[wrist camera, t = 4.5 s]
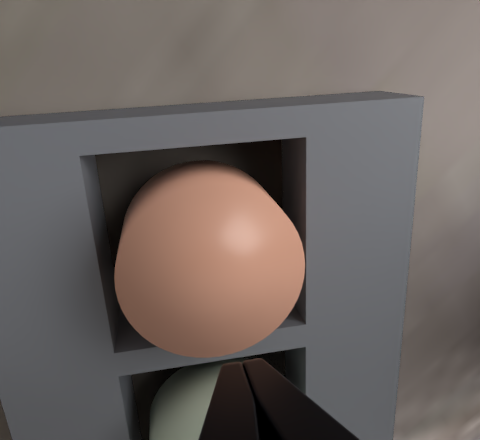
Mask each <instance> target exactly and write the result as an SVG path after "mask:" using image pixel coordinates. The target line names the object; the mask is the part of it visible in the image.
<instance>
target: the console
mask: <svg viewBox="0 0 480 440" xmlns="http://www.w3.org/2000/svg"><path fill="white" fill-rule="evenodd" d="M423 105H424V97H423V96H416V95H408V94H400V93H392V92H384V91H374V92H359V93H344V94H330V95H315V96H300V97H286V98H271V99H256V100H241V101H227V102H212V103H197V104H183V105H168V106H153V107H139V108H124V109H109V110H94V111H80V112H65V113H50V114H36V115H21V116H6V117H0V400H1V403H2V407H3V410H4V413H5V417H6V420H7V423H8V427H9V430H10V433H11V437H12V440H142V438H141V432H140V426H139V419H138V413H137V407H136V401H135V395H134V389H133V383H132V377H131V375H132V374H138V373H144V372H151V371H157V370H163V369H169V368H176V367H182V366H188V365H195V364H201V363H207V362H214V361H220V360H226V359H233V358H239V357H245V356H251V355H258V354H264V353H270V352H277V351H283V350H285V371H286V379H288V380H289V381H290V382H291V383H292V384H294V385H295V386H296V387H297V388H298V389H300V390H301V391H302V392H303V393H304V394H306V395H307V396H308V397H309V398H310V399H312V400H313V401H314V402H315V403H316V404H318V405H319V406H320V407H321V408H322V409H324V410H325V411H326V412H327V413H328V414H330V415H331V416H332V417H333V418H334V419H336V420H337V421H338V422H339V423H340V424H342V425H343V426H344V427H345V428H347V429H348V430H349V431H350V432H351V433H353V434H354V435H355V436H356V437H357V438H359V439H360V440H393V433H394V422H395V411H396V400H397V389H398V378H399V367H400V356H401V345H402V334H403V324H404V313H405V302H406V291H407V280H408V269H409V258H410V247H411V236H412V225H413V214H414V203H415V193H416V182H417V171H418V160H419V149H420V138H421V127H422V116H423ZM278 139H282V195H283V212H284V213H285V214H286V215H287V216H288V218H289V219H290V220H291V222H292V223H293V225H294V227H295V228H296V230H297V232H298V234H299V237H300V240H301V242H302V246H303V251H304V257H305V273H304V280H303V285H302V289H301V291H300V294H299V297H298V299H297V301H296V303H295V305H294V307H293V309H292V310H291V312H290V313H289V315H288V316H287V317H286V319H285V320H284V321H283V322H282V323H281V325H280V326H279V327H278V328H276V329H275V330H274V331H273V332H272V333H271V334H270V335H268V336H267V337H266V338H264V339H263V340H261V341H260V342H258V343H256V344H255V345H253V346H251V347H249V348H246V349H244V350H242V351H239V352H236V353H233V354H229V355H224V356H220V357H210V358H196V357H188V356H182V355H178V354H174V353H171V352H168V351H166V350H163V349H161V348H159V347H157V346H155V345H154V344H152V343H151V342H149V341H148V340H146V339H145V338H143V337H142V336H141V335H140V334H139V333H138V332H137V331H136V330H135V329H134V328H133V326H132V325H131V324H130V323H129V322H128V320H127V318H126V317H125V315H124V313H123V312H122V309H120V304H119V302H118V299H117V295H116V291H115V281H114V268H113V262H112V256H111V250H110V244H109V238H108V232H107V226H106V220H105V214H104V208H103V202H102V195H101V189H100V183H99V177H98V171H97V165H96V159H95V155H97V154H109V153H121V152H133V151H145V150H157V149H169V148H181V147H193V146H206V145H218V144H230V143H242V142H254V141H266V140H278Z"/></svg>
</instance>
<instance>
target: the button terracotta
mask: <svg viewBox="0 0 480 440" xmlns="http://www.w3.org/2000/svg"><path fill="white" fill-rule="evenodd" d="M304 273H305V257H304V251H303V246H302V242H301V240H300V237H299V234H298V232H297V230H296V228H295V227H294V225H293V223H292V222H291V220H290V219H289V218H288V216H287V215H286V214H285V213H284V212H283V210H282V209H281V208H280V207H279V206H278V205H277V204H276V202H275V201H274V200H273V199H272V198H271V197H270V195H269V194H268V193H267V192H266V191H265V190H264V189H263V187H262V186H261V185H260V184H259V183H258V182H257V181H256V180H255V179H254V178H252V177H251V176H250V175H248V174H247V173H246V172H244V171H242V170H240V169H239V168H237V167H234V166H231V165H229V164H226V163H222V162H217V161H209V160H197V161H189V162H184V163H180V164H177V165H174V166H171V167H169V168H167V169H165V170H163V171H161V172H160V173H158V174H156V175H155V176H153V177H152V178H151V179H150V180H148V181H147V182H146V183H145V184H144V185H143V186H142V187H141V188H140V189H139V191H138V192H137V193H136V195H135V196H134V197H133V199H132V201H131V203H130V205H129V207H128V209H127V212H126V215H125V218H124V222H123V227H122V232H121V237H120V243H119V248H118V253H117V258H116V264H115V274H114V281H115V291H116V295H117V299H118V302H119V304H120V307H121V309H122V312H123V313H124V315H125V317H126V318H127V320H128V322H129V323H130V324H131V325H132V326H133V328H134V329H135V330H136V331H137V332H138V333H139V334H140V335H141V336H142V337H143V338H145V339H146V340H148V341H149V342H151V343H152V344H154V345H155V346H157V347H159V348H161V349H163V350H166V351H168V352H171V353H174V354H178V355H182V356H188V357H196V358H210V357H220V356H224V355H229V354H233V353H236V352H239V351H242V350H244V349H246V348H249V347H251V346H253V345H255V344H256V343H258V342H260V341H261V340H263V339H264V338H266V337H267V336H268V335H270V334H271V333H272V332H273V331H274V330H275V329H276V328H278V327H279V326H280V325H281V323H282V322H283V321H284V320H285V319H286V317H287V316H288V315H289V313H290V312H291V310H292V309H293V307H294V305H295V303H296V301H297V299H298V297H299V294H300V291H301V289H302V285H303V280H304Z"/></svg>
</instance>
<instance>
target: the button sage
mask: <svg viewBox="0 0 480 440" xmlns="http://www.w3.org/2000/svg"><path fill="white" fill-rule="evenodd" d="M245 360H248V359H244V358H241V357H239V358H233V359H226V360H220V361H214V362H207V363H201V364H195V365H188V366H185V367H183V368H181V369H179V370H178V371H177V372H175V373H174V374H173V375H171V376H170V377H169V378H168V379H167V380H166V381H165V382H164V383H163V385H162V386H161V387H160V388H159V390H158V392H157V393H156V395H155V397H154V399H153V402H152V405H151V409H150V428H149V440H198V439H199V436H200V433H201V430H202V426H203V423H204V420H205V417H206V413H207V410H208V407H209V404H210V401H211V397H212V394H213V391H214V388H215V385H216V381H217V378H218V375H219V372H220V368H221V366H222V365H223V364H227V363H233V362H241V363H243V362H244V361H245Z"/></svg>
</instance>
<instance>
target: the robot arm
mask: <svg viewBox="0 0 480 440" xmlns="http://www.w3.org/2000/svg"><path fill="white" fill-rule="evenodd" d="M198 440H360V439H359V438H357V437H356V436H355V435H354V434H353V433H351V432H350V431H349V430H348V429H347V428H345V427H344V426H343V425H342V424H340V423H339V422H338V421H337V420H336V419H334V418H333V417H332V416H331V415H330V414H328V413H327V412H326V411H325V410H324V409H322V408H321V407H320V406H319V405H318V404H316V403H315V402H314V401H313V400H312V399H310V398H309V397H308V396H307V395H306V394H304V393H303V392H302V391H301V390H300V389H298V388H297V387H296V386H295V385H294V384H292V383H291V382H290V381H289V380H288V379H286V378H285V377H284V376H283V375H282V374H280V373H279V372H278V371H277V370H276V369H274V368H273V367H272V366H271V365H269V364H268V363H267V362H266V361H265V360H263V359H261V358H257V359H251V360H245V361H244V362H243V363H241V362H233V363H227V364H223V365H222V366H221V368H220V372H219V375H218V378H217V381H216V385H215V388H214V391H213V394H212V397H211V401H210V404H209V407H208V410H207V413H206V417H205V420H204V423H203V426H202V430H201V433H200V436H199V439H198Z"/></svg>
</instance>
